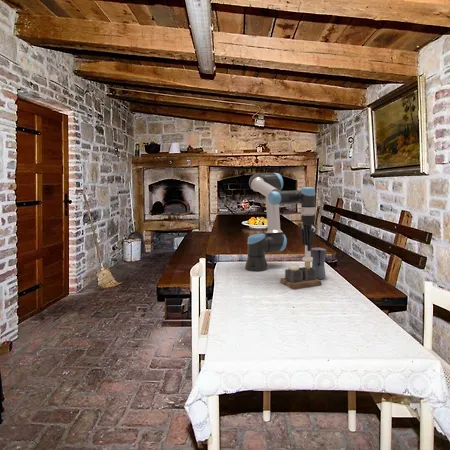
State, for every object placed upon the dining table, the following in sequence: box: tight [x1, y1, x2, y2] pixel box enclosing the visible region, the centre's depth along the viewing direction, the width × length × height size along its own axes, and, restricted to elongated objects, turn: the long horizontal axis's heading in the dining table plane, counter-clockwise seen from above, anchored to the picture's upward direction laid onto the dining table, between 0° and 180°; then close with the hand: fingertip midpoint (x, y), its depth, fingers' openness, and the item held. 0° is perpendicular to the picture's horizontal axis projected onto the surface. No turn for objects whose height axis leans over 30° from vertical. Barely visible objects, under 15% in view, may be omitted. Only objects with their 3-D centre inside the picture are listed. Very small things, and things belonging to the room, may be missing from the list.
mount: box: [280, 266, 323, 290], centre depth 192 cm, size 14×18×8 cm
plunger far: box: [302, 255, 313, 270], centre depth 193 cm, size 6×6×8 cm
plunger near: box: [288, 264, 300, 272], centre depth 190 cm, size 6×6×8 cm
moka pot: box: [310, 244, 327, 280], centre depth 204 cm, size 10×15×20 cm, turn 174°
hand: (307, 256), depth 192 cm, fingers closed
